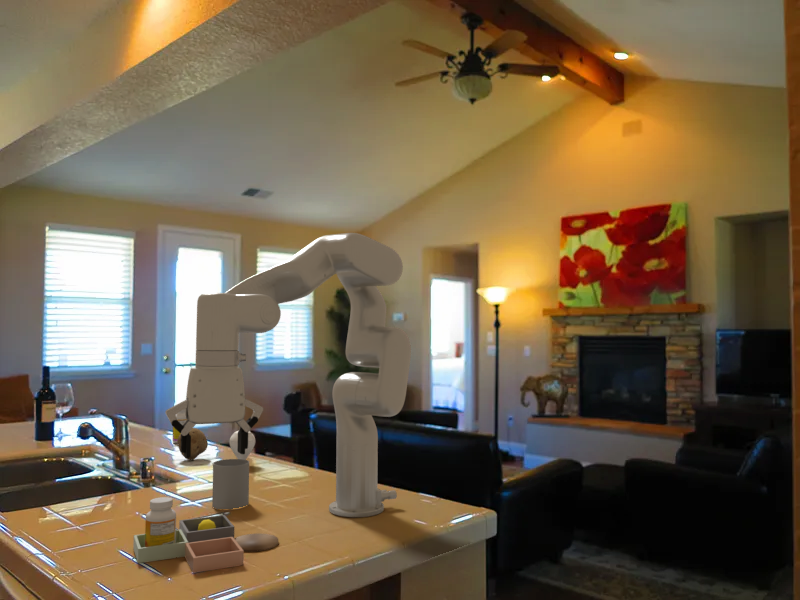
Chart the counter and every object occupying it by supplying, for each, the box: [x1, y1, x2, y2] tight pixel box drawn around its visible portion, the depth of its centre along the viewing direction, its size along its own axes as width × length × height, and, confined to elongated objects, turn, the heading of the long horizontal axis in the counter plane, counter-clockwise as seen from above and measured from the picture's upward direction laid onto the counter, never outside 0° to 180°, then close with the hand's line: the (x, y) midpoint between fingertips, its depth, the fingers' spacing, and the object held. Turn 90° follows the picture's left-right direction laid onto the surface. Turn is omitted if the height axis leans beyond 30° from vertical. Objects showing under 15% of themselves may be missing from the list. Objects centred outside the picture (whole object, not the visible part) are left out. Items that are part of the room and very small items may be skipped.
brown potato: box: [177, 427, 209, 461], centre depth 208 cm, size 9×9×10 cm
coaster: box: [234, 533, 279, 553], centre depth 128 cm, size 9×9×1 cm
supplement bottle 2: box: [172, 409, 187, 445], centre depth 239 cm, size 7×7×13 cm
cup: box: [211, 458, 250, 510], centre depth 156 cm, size 8×8×10 cm
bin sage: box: [132, 529, 188, 564], centre depth 123 cm, size 9×9×2 cm
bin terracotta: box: [184, 537, 245, 574], centre depth 119 cm, size 9×9×2 cm
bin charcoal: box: [178, 514, 235, 543], centre depth 133 cm, size 9×9×2 cm
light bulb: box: [197, 519, 216, 531], centre depth 134 cm, size 3×6×4 cm, turn 36°
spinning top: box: [228, 430, 256, 460], centre depth 200 cm, size 8×8×12 cm
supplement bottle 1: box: [144, 496, 177, 547], centre depth 123 cm, size 5×5×10 cm
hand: (214, 455), depth 120 cm, fingers open, 9 cm apart
